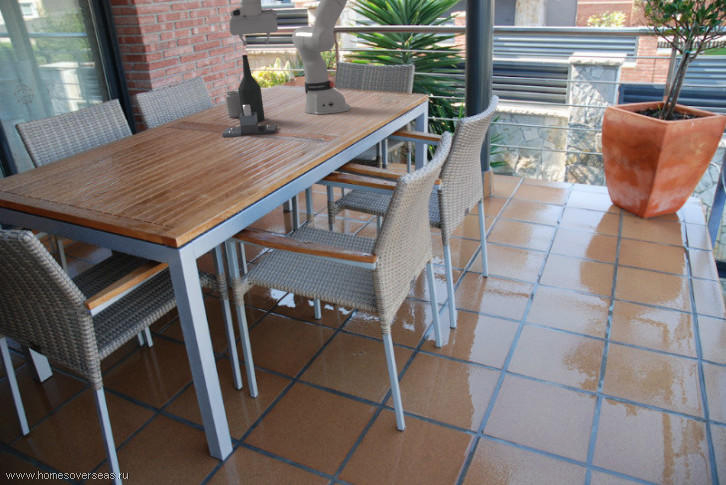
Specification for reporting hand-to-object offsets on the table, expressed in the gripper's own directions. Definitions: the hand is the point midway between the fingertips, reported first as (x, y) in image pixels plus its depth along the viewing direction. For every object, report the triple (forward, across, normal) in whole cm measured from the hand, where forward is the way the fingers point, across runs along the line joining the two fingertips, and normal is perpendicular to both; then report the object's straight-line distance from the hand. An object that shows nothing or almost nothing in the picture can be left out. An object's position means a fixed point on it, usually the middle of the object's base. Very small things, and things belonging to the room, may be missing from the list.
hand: (256, 44), depth 246 cm
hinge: (+35, +6, +12) cm, 37 cm away
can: (+35, +17, -22) cm, 45 cm away
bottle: (+35, +7, -10) cm, 37 cm away
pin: (+35, +6, +12) cm, 37 cm away
